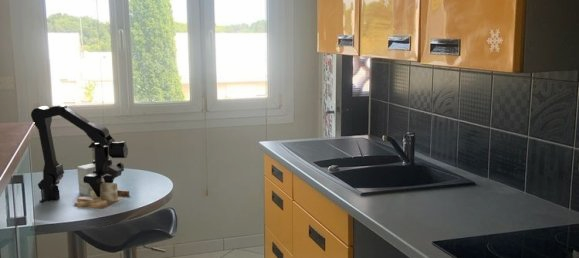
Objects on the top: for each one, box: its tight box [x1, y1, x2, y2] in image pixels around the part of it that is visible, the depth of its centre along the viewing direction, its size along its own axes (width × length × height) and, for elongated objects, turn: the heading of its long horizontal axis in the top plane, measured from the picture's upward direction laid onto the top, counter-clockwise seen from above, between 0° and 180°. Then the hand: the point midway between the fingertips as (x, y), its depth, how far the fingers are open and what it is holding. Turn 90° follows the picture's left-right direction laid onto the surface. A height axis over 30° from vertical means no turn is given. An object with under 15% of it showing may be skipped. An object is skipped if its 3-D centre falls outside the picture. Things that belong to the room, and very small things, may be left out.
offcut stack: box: [73, 195, 109, 209], centre depth 238 cm, size 13×4×3 cm, turn 73°
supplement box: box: [76, 163, 102, 197], centre depth 256 cm, size 7×7×13 cm
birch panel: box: [90, 182, 118, 202], centre depth 246 cm, size 12×2×7 cm, turn 73°
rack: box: [72, 189, 130, 210], centre depth 245 cm, size 14×19×3 cm
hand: (104, 194), depth 247 cm, fingers open, 7 cm apart
